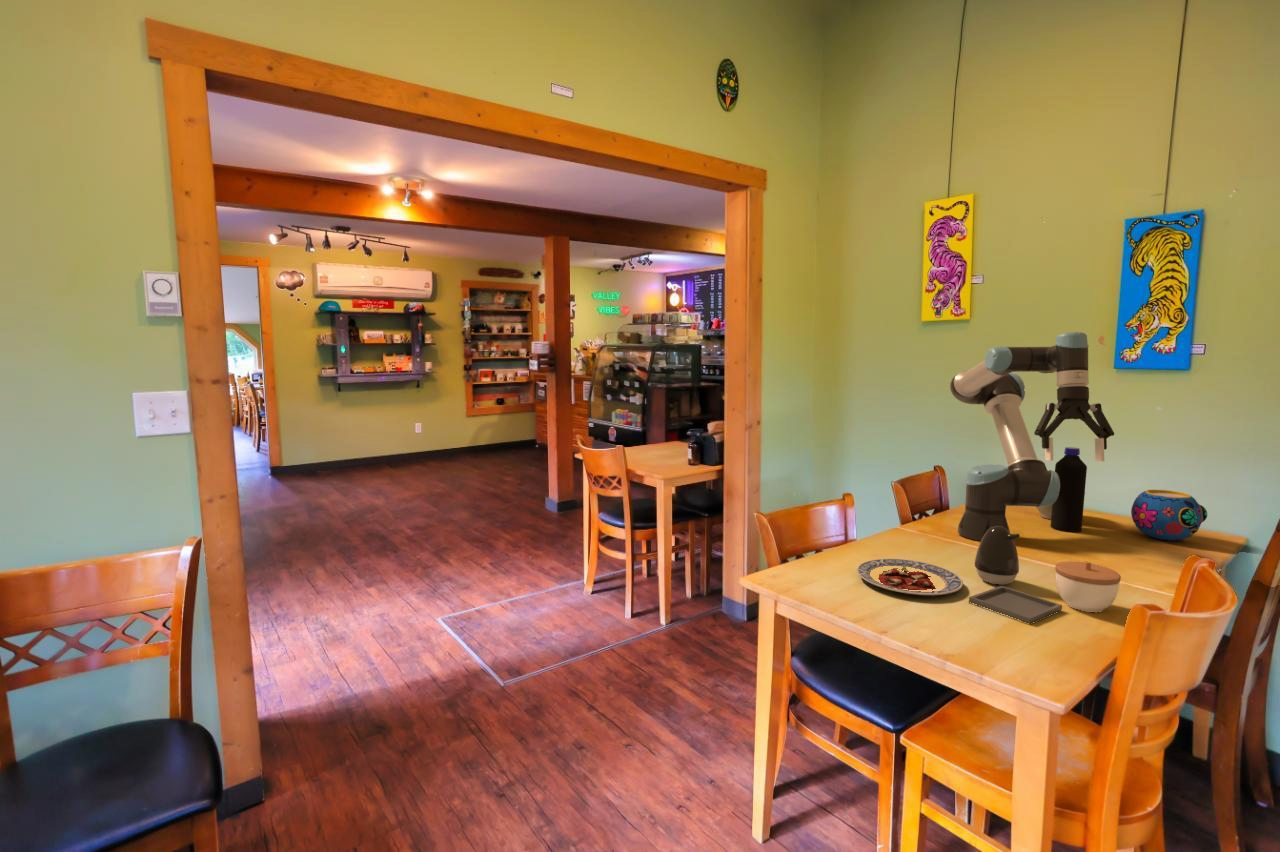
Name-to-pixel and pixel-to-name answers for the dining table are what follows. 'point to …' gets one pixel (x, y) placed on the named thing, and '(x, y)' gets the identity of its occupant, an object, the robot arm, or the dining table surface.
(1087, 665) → the dining table surface
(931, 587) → the ceramic plate
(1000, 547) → the pump dispenser
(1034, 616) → the tray
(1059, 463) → the bottle
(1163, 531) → the ceramic pot
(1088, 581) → the lidded bowl
